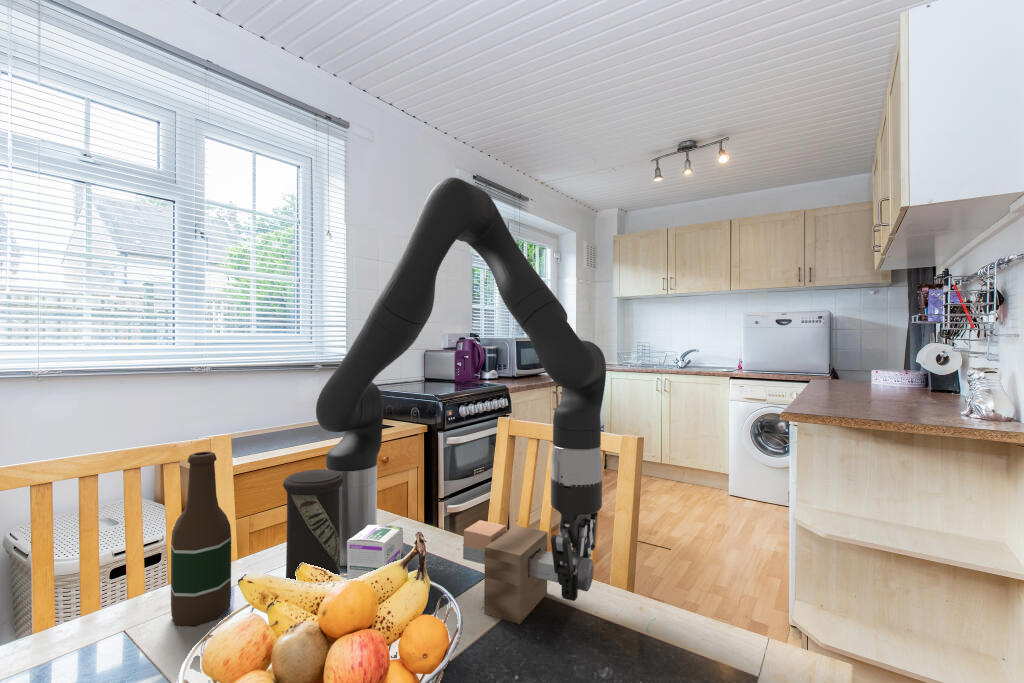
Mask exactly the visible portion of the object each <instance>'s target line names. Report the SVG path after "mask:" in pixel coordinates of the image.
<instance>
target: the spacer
mask: <svg viewBox="0 0 1024 683" xmlns="http://www.w3.org/2000/svg"><path fill="white" fill-rule="evenodd" d="M506 531H507V526H506V525H505V524H500V523H496V522H491V521H486V520H481V519H479V520H478V521H476V522H475V523H473V524H471V525H470V526H468V527H467V528H465V529H464V530H463V544H464V546H467V547H471V548H475V549H479V550H483V551H485V547H486V546H487V545H488V544H490V543H491V542H492V541H494V540H495V539H497V538H498V537H499V536H501V535H502V534H503V533H505V532H506Z"/></svg>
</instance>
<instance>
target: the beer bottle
mask: <svg viewBox="0 0 1024 683" xmlns="http://www.w3.org/2000/svg"><path fill="white" fill-rule="evenodd" d="M217 460H218V459H217V455H216V453H215V452H213V451H199V452H195V453H192V454H189V455H188V458H187V463H189V472H188V481H187V482H188V483H187V484H188V485H187V495H186V497H187V498H186V502H185V507H184V509H183V511H182V512H181V514H180V515H179V516H178V517H177V519H176V522H175V523H174V526H173V529H172V531H171V542H170V613H171V614H170V615H171V618H172V621H173V622H174V625H175V626H176V627H184V628H185V627H189V628H191V627H192V628H195V627H196V628H197V627H199V626H202V625H205V624H208V623H211V622H214V621H217V620H218V619H220V618H221V617H222V616H223V615H224V614H225V613H227V611H228V610H229V609H230V607H231V600H232V530H231V529H232V528H231V523H230V521H229V519H228V516H227V515H226V512H224V511H223V509H222V508H221V507H220V506H219V500H218V496H217V482H216V467H215V466H216V465H215V462H216V461H217Z"/></svg>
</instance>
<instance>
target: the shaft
mask: <svg viewBox="0 0 1024 683" xmlns="http://www.w3.org/2000/svg"><path fill="white" fill-rule="evenodd" d="M462 548H463V549H462V560H465V561H470V562H473V563H478V564H480V565H481V564H482V565H485V551H483V550H479V549H475V548H471V547H467V546H464V543H463V544H462ZM572 559H573V557H572ZM577 574H578V590H579V591H583V592H588V591H589V590H590V589H591V586H592V582H593V579H594V562H593V559H592V558H590V559H589V558H584V557H581V558H580V559H579V565H578V573H577ZM528 575H529V576H533V577H537V578H541V579H545V580H547V581H549V582H553V583H556V584H557V583H558V584H559V585H560V586H562V574H558V573H555V571H554V563H553V555H552V551H548V550H547V551H544V550H539V549H538V550H537V551H536V552H535V553H534V554H533V555H531V556H530V557H529V558H528Z"/></svg>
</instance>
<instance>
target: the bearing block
mask: <svg viewBox="0 0 1024 683" xmlns="http://www.w3.org/2000/svg"><path fill="white" fill-rule="evenodd" d="M548 536H549V535H548V531H546V530H541V529H536V528H531V527H526V526H520V525H518V524H517V525H516V524H514V525H513V526H511V528H509V529H507V530H506V532H505V533H503V534H502V535H501V536H499V537H498V538H497V539H495V540H494V541H492V542H491V543H490V544H488V545H487V546H486V547H485V564H484V583H483V584H484V590H483V591H484V592H483V593H484V595H483V596H484V597H483V598H484V604H483V605H484V606H483V608H484V609H483V610H484V611H483V613H484V614H486V615H489V616H492V617H495V618H498V619H502V620H505V621H508V622H512V623H514V624H517V625H520V624H522V623H523V621H524V620H525V619H526V618H527V617H528V616H529V614H530V613H531V612H532V611H533V610H534V609H535V608H536V606H537V605H538V604H539V603H540V602H541V601H542V599H543V598H544V597H545V596H546V595H547V594H548V580H545V579H541V578H537V577H533V576H529V575H528V558H529V557H530V556H531V555H533V554H534V553H535V552H536V551H537V550H538V549H539V550H544V551H548V547H549V546H548V544H549V543H548V542H549V541H548Z"/></svg>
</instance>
